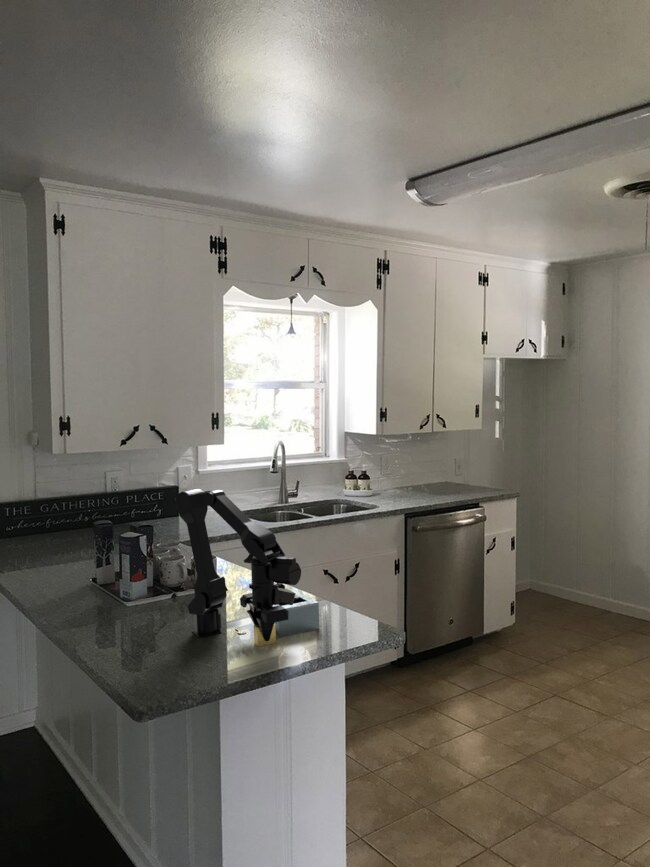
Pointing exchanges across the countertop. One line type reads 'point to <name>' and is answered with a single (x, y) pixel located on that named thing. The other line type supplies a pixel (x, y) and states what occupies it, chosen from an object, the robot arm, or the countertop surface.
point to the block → (260, 639)
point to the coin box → (299, 616)
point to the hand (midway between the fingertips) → (265, 639)
